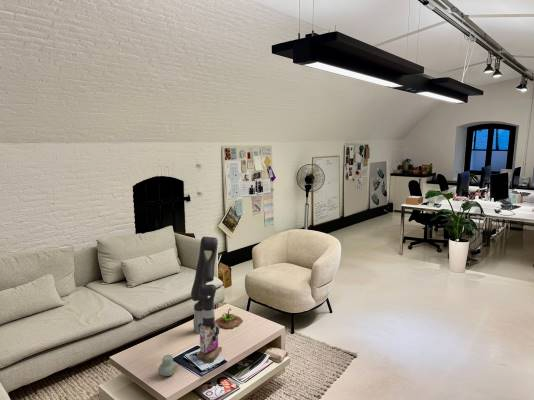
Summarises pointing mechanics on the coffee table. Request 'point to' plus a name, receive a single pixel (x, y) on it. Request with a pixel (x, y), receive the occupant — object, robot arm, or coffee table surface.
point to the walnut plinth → (210, 354)
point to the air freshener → (168, 366)
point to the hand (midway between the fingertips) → (209, 340)
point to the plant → (229, 321)
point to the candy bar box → (207, 339)
